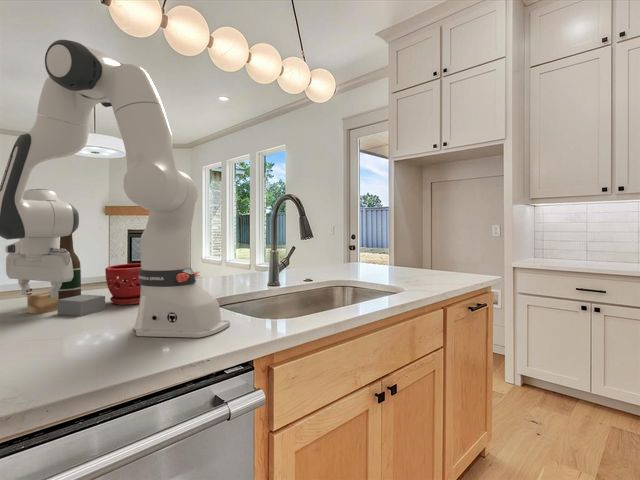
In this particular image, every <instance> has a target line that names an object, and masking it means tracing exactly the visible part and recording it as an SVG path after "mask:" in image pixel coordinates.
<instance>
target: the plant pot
mask: <svg viewBox="0 0 640 480" xmlns="http://www.w3.org/2000/svg"><path fill="white" fill-rule="evenodd" d="M140 269H141V262H140V263H139V262H138V263H135V262H134V263H123V264H115V265H109V266H107V267H105V280H106V281H105V282H106V284H107V289H108V291H109V293H110V294H111V297H110V299H109V300H110V302H111V303H113V304H115V305H121V306H127V305H128V306H129V305H137V304H139V302H140V292H141V287H140V284H139V270H140Z"/></svg>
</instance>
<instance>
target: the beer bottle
mask: <svg viewBox="0 0 640 480" xmlns="http://www.w3.org/2000/svg"><path fill="white" fill-rule="evenodd" d="M73 240H74V239H73V233H72V234H71V235H69V236H64V237H59V249H66V251H68V252H69V253H70V258H71V260H72V265H73V279H72V280H71V281H68V282H62V285H61V287H60V289H59V291H58V300H59V299H64V298H69V297H74V296H79V295H82V271H81V270H82V267H81V261H80V259H79V256H78V255H77V254H76V252H75V250H74V241H73ZM65 253H66V252H65Z"/></svg>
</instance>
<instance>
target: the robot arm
mask: <svg viewBox="0 0 640 480" xmlns="http://www.w3.org/2000/svg"><path fill="white" fill-rule="evenodd" d="M44 67H45V70H46V73H47V75H48V77H46V78H45V81H44V83H43V86H42V88H41V92H40V96H39V100H38V104H37V112H36V113H37V115H36V119H35V122H34V124H33V126H32V127H31V128H30V130H29V131H28V132H27V133H24V134H20V135H19V136H18V137H17V138H16V140H15V142H14V144H13V147H12V149H11V152H10V154H9V158H8V160H7V164H6V167H5V170H4V173H3V176H2V179H1V183H0V237H1V238H2V239H5V240H17V239H18V241H15V242H12V243H10V244H7V245H6V246H5V247H4V248H5V249H4V250H5V253H6V254H7V255H6V258H5V273H6V276H7V277H8V279H11V280H13V279H14V280H17V281H18V282H17V283H18V285H19V287H20V289H21V295H23V296H27V295H33V288H30V287H31V286H30V284H29V283H30V282H31V281H36V282H37V281H38V282H50V285H51V289H50V290H48V291H47V292H48V294H49V295H48V297H50V298H55V297H58V291H59V289H60V287H61V285H62V282H68V281H71V280H72V279H73V265H72V260H71V258H70V253H69V252H68V251H66V249H60V237H64V236H69V235H71V234H72V235H73V234H74V232H76V231H77V230H78V228H79V224H80V214H79V212H78V210H77V209H76V207H74V206H73V204H71V203H70V202H69V203H68V202H65V201H63V200H61V199H60V198H58V194H57V193H56V192H55V191H54V190H51V189H45V188H33V189H30V188H29V189H27V186H28V182H29V179H30V176H31V174H32V171H33V169H34V168H35V167H37V165H39V164H41V163H43V162H46V161H50V160H54V159H60V158H66V157H69V156H74V155H75V154H77V153H79V152H80V151H82V150H83V149H84V148H85V147H86V145H87V143H88V138H89V133H90V127H91V126H90V125H91V115H92V110H93V109H94V107H95V106H96V105H98V104H101V105H102V106H103V107H104V108H108V107H109V108H110V107H111V108H112V111H113V114H114V115H113V116H114V117H115V120H116V123H117V125H118V130H119V132H120V135H121V139H122V142H123V146H124V150H125V158H126V159H125V160H126V172H125V174H124V177H123V185H122V186H123V190H124V193H125V195H126V196H127V198H128V199H129V201H131V202H132V203H133V204H136V205H137V206H139V207H141V208H142V209H145V210H146V211H149V213H148V218H147V223H146V225H145V228H144V230H143V232H142V234H141V236H140V263H141V269H140V270H139V284H140V287H141V292H140V302H139V303H138V310H137V316H136V320H135V323H134V326H133V330H134V331H135V336H137V337H154V338H155V337H156V338H157V337H164V338H195V339H196V338H204V337H207V336H212V335H214V334H217V333H219V332H221V331H223V330H224V329H227V328H228V327H229V326H230V325H231V321H230V318H227V317H222V315H221V308H220V304H219V302H218V300H217V298H216V297H214V296H213V295H212V294H211V293H209V292H208V291H207V290H206V289H204V288H203V287H202V286H200V285H199V284H198V283H197V278H196V277H200V274H199V273H200V271H199V270H198V271H193V269H192V267H191V266H190V263H191V260H190V259H191V258H190V257H191V256H190V255H191V252H190V251H191V249H190V248H191V244H190V242H191V241H190V240H191V231H192V225H193V219H194V212H195V207H196V206H195V205H196V203H197V201H198V197H199V191H198V187H197V185H196V183H195V182H194V180H193V179H192V178H191V177H190V176H189V175H188V174H187V173H185V172H184V171H183V172H182V171H180V170H179V169H178V167H177V166H176V163H175V159H174V151H173V144H174V136H173V133H172V130H171V127H170V124H169V121H168V117H167V115H166V111H165V108H164V106H163V103H162V100H161V98H160V94H159V92H158V91H157V89H156V87H155V85H154V82H153V81H152V79H151V77H150V75H149V74H148V72H147V71H146V70H145V69H144V68H142V67H141V66H138V65H137V64H132V63H121V62H119V61H118V60H115V59H114V58H113V57H110V56H109V55H107V54H105V53H104V52H101V51H99V50H97V49H94V48H91V47H88V46H85V45H84V44H82V43H80V42H78V41H73V40H67V39H58V40H55V41H53V42H52V43H50V45H49V46H48V47H47V50H46V52H45V56H44ZM26 189H27V190H26ZM65 252H66V253H65Z"/></svg>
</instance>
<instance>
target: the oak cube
mask: <svg viewBox="0 0 640 480" xmlns="http://www.w3.org/2000/svg"><path fill="white" fill-rule="evenodd" d="M48 295H49V294H48V291H47V292H46V291H45V292H40V293H34V294H33V293H32V294H31V295H26V298H27V313H28V314H35V315H36V314H37V315H44V314H48V313H53V312H58V301H57V300H58V297H55V298H50V297H48Z"/></svg>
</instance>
